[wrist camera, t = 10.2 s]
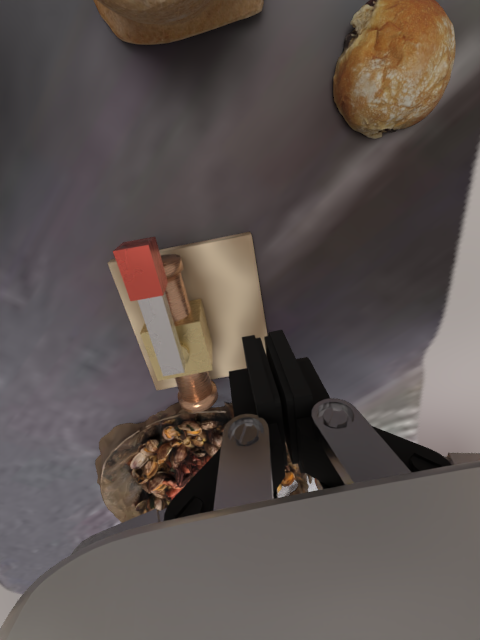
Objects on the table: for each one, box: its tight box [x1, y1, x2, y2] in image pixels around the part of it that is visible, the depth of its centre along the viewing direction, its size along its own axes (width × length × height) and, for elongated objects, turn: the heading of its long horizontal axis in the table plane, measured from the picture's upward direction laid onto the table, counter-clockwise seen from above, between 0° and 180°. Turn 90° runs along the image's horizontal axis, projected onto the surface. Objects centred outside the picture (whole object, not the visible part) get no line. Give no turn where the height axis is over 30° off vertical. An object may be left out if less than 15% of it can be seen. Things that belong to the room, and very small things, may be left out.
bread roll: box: [333, 0, 455, 139], centre depth 27 cm, size 10×10×8 cm
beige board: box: [108, 232, 267, 390], centre depth 38 cm, size 16×18×2 cm
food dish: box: [95, 402, 312, 523], centre depth 49 cm, size 35×33×8 cm
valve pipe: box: [140, 254, 218, 413], centre depth 34 cm, size 6×18×7 cm, turn 10°
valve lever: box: [113, 237, 186, 376], centre depth 26 cm, size 13×3×4 cm, turn 9°
